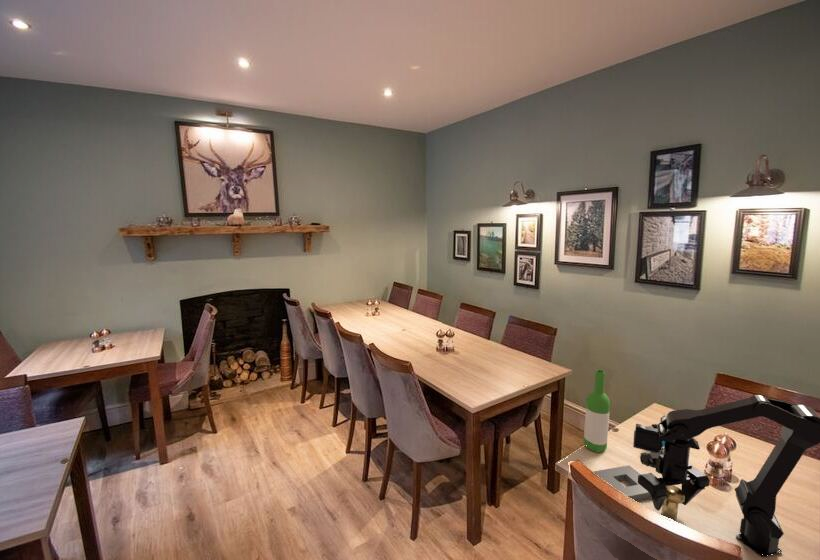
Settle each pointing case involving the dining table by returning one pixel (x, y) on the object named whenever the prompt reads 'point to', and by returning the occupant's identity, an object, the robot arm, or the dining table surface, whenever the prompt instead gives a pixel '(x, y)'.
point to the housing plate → (624, 474)
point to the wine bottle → (597, 416)
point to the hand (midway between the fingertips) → (670, 506)
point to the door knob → (672, 502)
